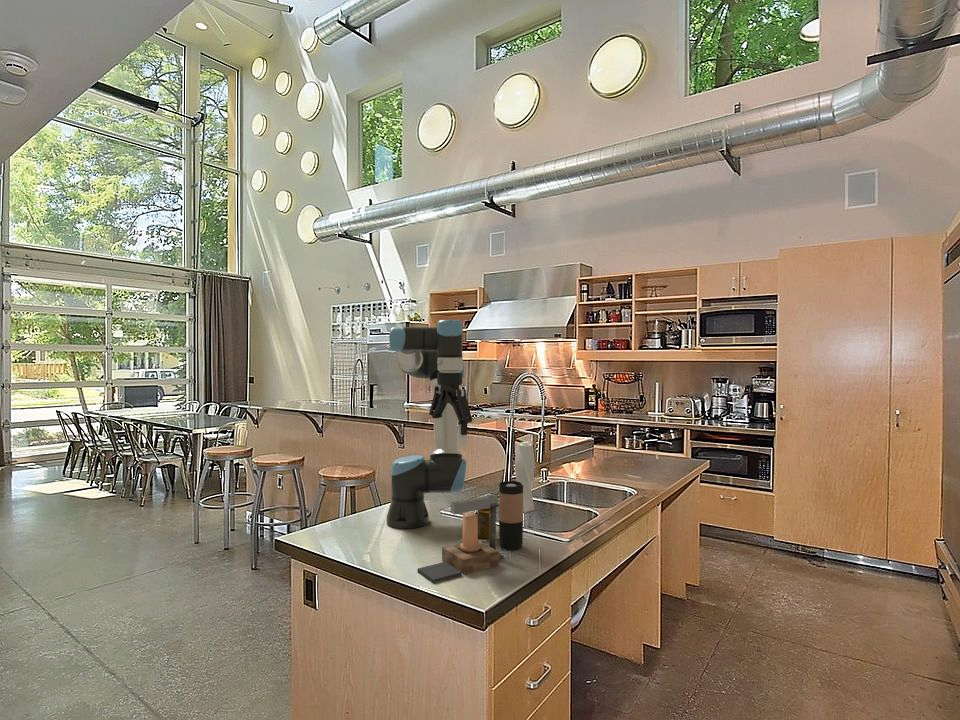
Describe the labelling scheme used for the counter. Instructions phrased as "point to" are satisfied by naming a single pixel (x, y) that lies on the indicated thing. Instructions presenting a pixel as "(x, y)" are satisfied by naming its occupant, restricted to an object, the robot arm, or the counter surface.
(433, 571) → the mat
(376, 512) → the counter surface
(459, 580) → the counter surface
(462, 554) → the socket block
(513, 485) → the travel mug
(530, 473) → the skyscraper
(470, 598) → the counter surface
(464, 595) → the counter surface
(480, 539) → the condiment
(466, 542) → the peg
